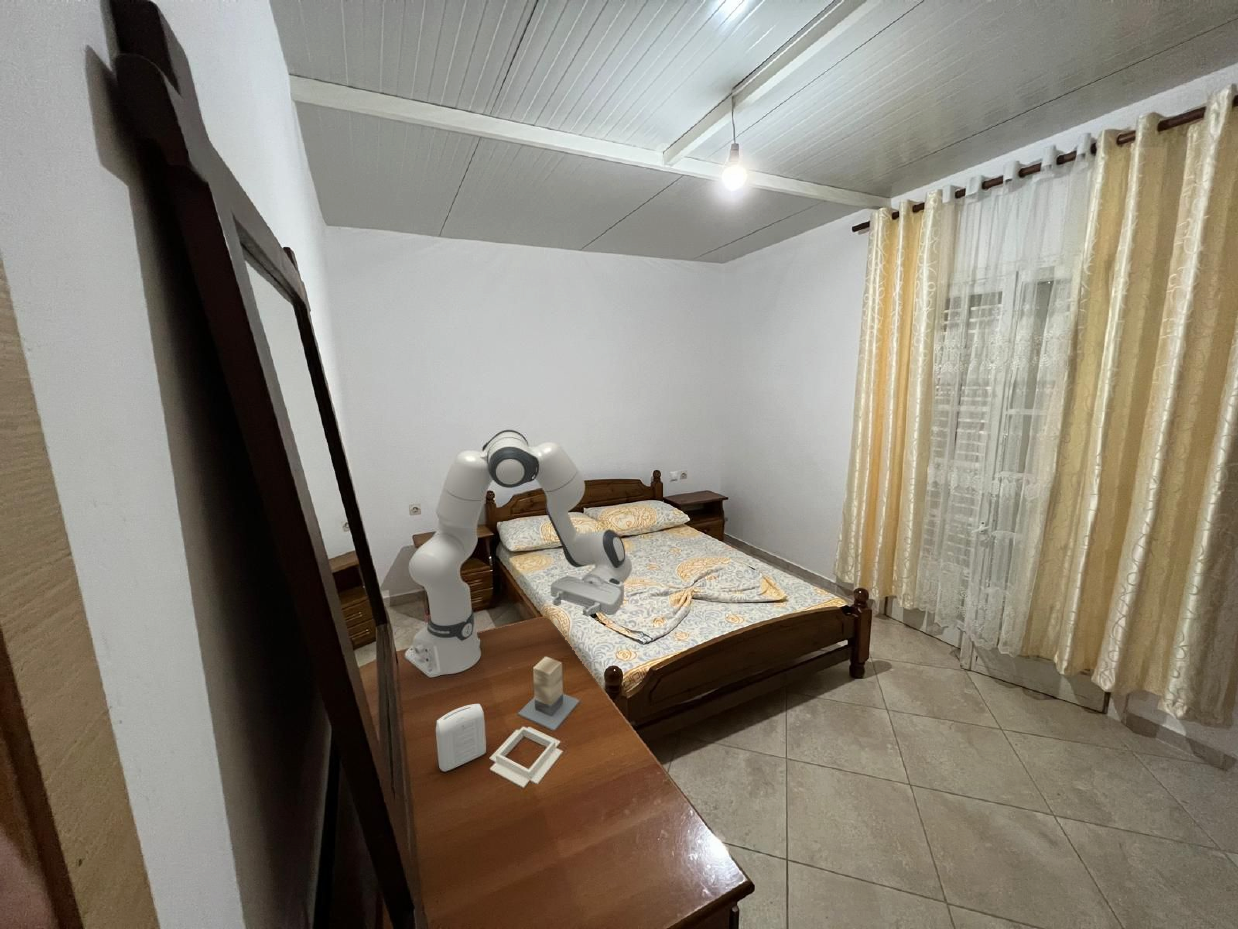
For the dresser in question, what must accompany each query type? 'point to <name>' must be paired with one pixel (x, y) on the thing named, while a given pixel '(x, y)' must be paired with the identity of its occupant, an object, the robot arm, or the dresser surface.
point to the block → (548, 686)
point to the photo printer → (460, 736)
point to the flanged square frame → (519, 772)
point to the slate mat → (547, 720)
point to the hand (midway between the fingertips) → (569, 608)
